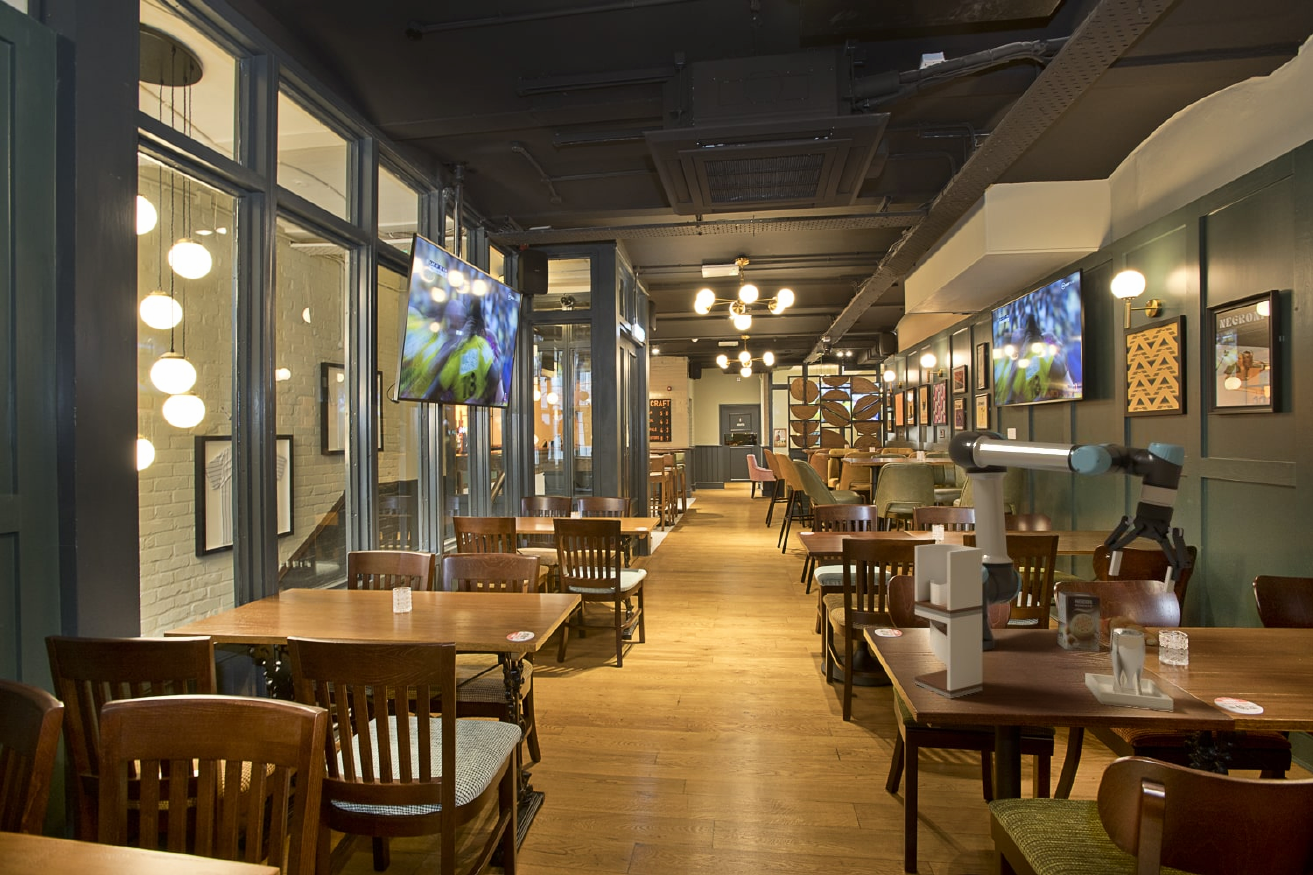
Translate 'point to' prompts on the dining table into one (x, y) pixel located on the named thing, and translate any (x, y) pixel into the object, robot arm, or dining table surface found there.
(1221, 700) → the dining table surface
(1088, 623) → the coffee box
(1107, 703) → the dish
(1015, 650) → the dining table surface
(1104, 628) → the croissant
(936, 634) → the tall white shelf unit
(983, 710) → the dining table surface
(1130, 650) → the beer glass
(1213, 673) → the dining table surface
